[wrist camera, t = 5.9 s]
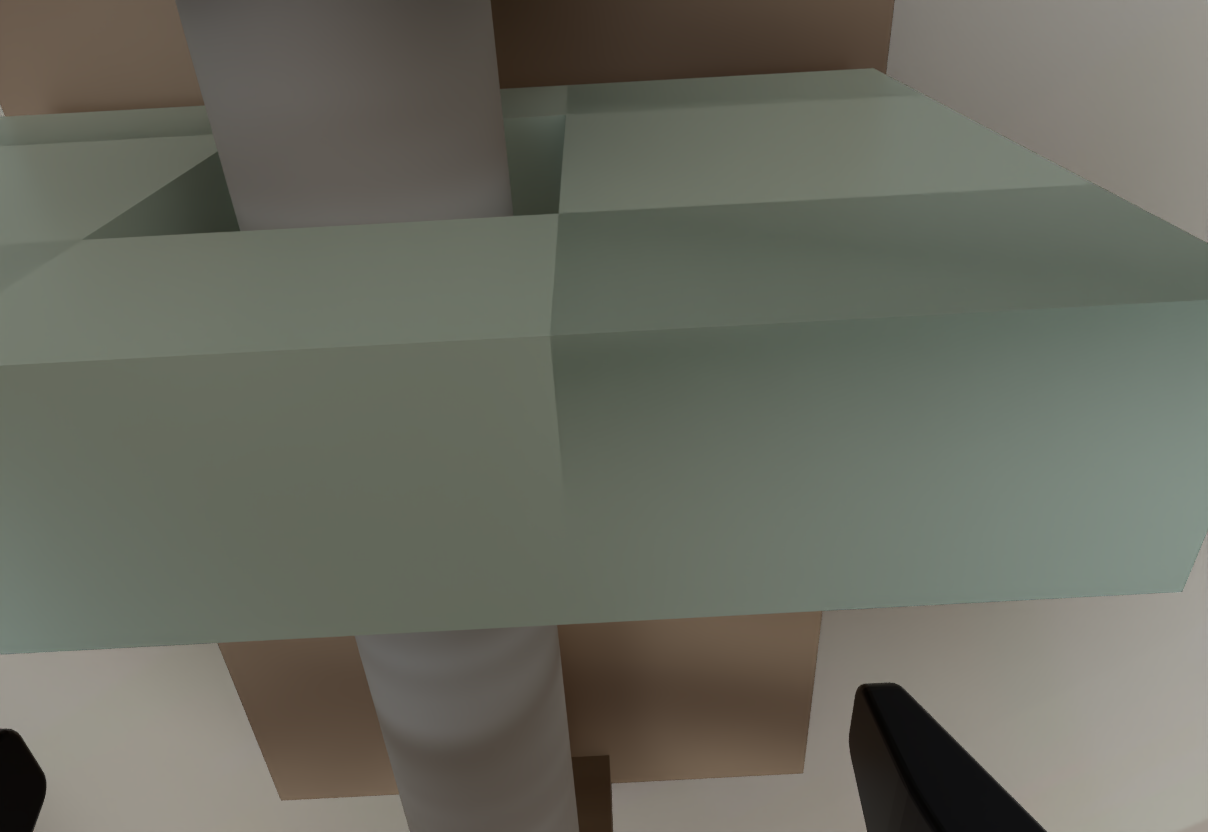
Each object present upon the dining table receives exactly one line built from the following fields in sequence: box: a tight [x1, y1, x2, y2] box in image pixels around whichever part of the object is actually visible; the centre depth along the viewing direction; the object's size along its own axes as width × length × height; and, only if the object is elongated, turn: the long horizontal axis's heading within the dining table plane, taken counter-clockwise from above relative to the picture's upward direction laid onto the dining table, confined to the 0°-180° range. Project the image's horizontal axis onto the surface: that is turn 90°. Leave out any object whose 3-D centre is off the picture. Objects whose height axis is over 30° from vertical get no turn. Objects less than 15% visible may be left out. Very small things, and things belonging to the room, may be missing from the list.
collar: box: [0, 68, 1208, 654], centre depth 8 cm, size 2×11×7 cm, turn 93°
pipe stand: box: [0, 0, 895, 832], centre depth 12 cm, size 18×12×7 cm, turn 3°
